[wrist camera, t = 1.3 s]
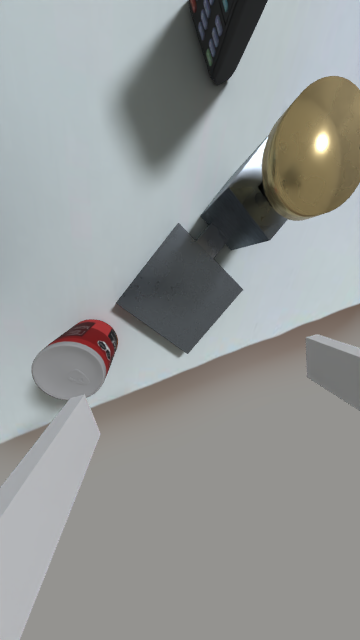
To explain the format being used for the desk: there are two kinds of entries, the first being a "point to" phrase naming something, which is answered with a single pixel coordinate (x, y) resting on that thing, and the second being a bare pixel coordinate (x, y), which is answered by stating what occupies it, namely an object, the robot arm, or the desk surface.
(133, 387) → the desk surface
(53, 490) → the robot arm
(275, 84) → the desk surface
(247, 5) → the card reader
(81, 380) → the canned food
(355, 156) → the door knob
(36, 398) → the desk surface
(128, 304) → the grey stepped stand
